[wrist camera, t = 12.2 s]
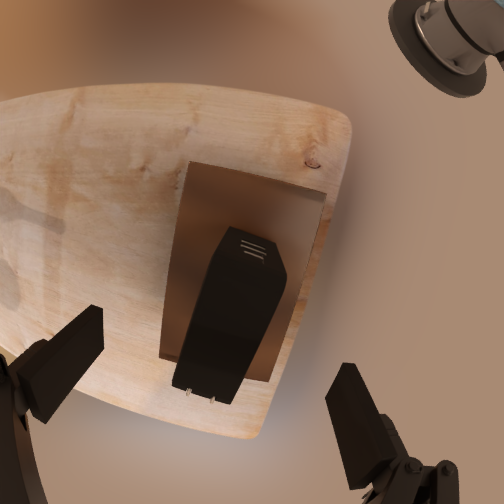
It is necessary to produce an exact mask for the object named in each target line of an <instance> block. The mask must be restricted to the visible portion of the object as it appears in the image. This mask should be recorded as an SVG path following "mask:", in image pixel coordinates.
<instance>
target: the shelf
mask: <svg viewBox="0 0 504 504" xmlns="http://www.w3.org/2000/svg"><path fill="white" fill-rule="evenodd" d="M326 195H327V194H326V193H323V192H320V191H316V190H313V189H309V188H305V187H302V186H298V185H294V184H290V183H287V182H283V181H279V180H275V179H271V178H267V177H263V176H258V175H254V174H250V173H245V172H241V171H237V170H232V169H227V168H223V167H218V166H213V165H208V164H203V163H197V162H192V161H189V165H188V169H187V173H186V178H185V182H184V187H183V192H182V197H181V202H180V207H179V212H178V217H177V223H176V228H175V234H174V239H173V245H172V252H171V258H170V264H169V271H168V278H167V285H166V293H165V301H164V309H163V318H162V328H161V338H160V350H159V358H161V359H165V360H168V361H172V362H175V363H177V362H178V359H179V355H180V352H181V349H182V345H183V342H184V339H185V336H186V332H187V329H188V326H189V323H190V320H191V316H192V313H193V310H194V307H195V304H196V301H197V298H198V295H199V292H200V289H201V286H202V283H203V280H204V277H205V274H206V271H207V268H208V265H209V262H210V259H211V257H212V255H213V253H214V251H215V250H216V248H217V246H218V244H219V243H220V241H221V239H222V238H223V236H224V234H225V232H226V231H227V229H228V228H229V226H231V227H234V228H236V229H239V230H242V231H245V232H247V233H250V234H253V235H256V236H258V237H261V238H264V239H266V240H269V241H272V242H274V243H276V245H277V248H278V251H279V253H280V256H281V259H282V262H283V264H284V267H285V270H286V272H287V282H286V286H285V290H284V293H283V295H282V297H281V300H280V302H279V304H278V306H277V309H276V311H275V313H274V315H273V318H272V320H271V322H270V324H269V326H268V328H267V331H266V333H265V335H264V337H263V339H262V341H261V343H260V346H259V348H258V350H257V352H256V354H255V356H254V358H253V360H252V362H251V364H250V366H249V368H248V371H247V373H246V375H245V377H244V378H246V379H252V380H258V381H264V382H269V380H270V377H271V374H272V371H273V369H274V366H275V363H276V360H277V357H278V355H279V352H280V349H281V346H282V343H283V340H284V337H285V334H286V331H287V328H288V325H289V322H290V319H291V316H292V313H293V310H294V307H295V304H296V301H297V298H298V295H299V291H300V288H301V285H302V282H303V278H304V275H305V272H306V268H307V265H308V262H309V258H310V255H311V251H312V248H313V244H314V241H315V237H316V233H317V230H318V226H319V222H320V219H321V215H322V211H323V207H324V203H325V199H326Z"/></svg>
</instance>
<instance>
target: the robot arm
mask: <svg viewBox="0 0 504 504" xmlns="http://www.w3.org/2000/svg"><path fill="white" fill-rule="evenodd" d="M412 23H413V28H414V31H415V33H416V35H417V37H418V39H419V41H420V42H421V44H422V46H423V47H424V48H425V50H426V51H427V52H428V53H429V55H430V56H431V57H432V58H433V59H434V60H435V61H436V62H437V63H438V64H439V65H441V66H442V67H443V68H445V69H446V70H448V71H449V72H451V73H453V74H455V75H458V76H467V75H470V74H473V73H475V72H476V71H477V70H478V68H479V67H480V66H481V65H482V63H483V62H484V61H485V59H486V58H487V57H488V56H489V55H493V56H495V57H496V58H497V60H498V61H499V63H500V65H501V67H502V69H503V71H504V0H444V1H439V2H434V3H430V2H427V3H426V5H423V6H421V7H419V8H418V9H417V10H416V11H415V12H414V14H413V17H412ZM103 350H104V335H103V308H100V307H98V306H95V305H92V304H91V305H90V306H89V307H88V308H86V309H85V310H84V311H83V312H82V313H80V314H79V315H78V316H77V317H76V318H75V319H73V320H72V321H71V322H70V323H69V324H68V325H66V326H65V327H64V328H63V329H62V330H61V331H60V332H58V333H57V334H56V335H55V336H54V337H53V338H52V339H50V340H49V341H47V340H45V339H42V340H39V341H37V342H35V343H33V344H32V345H31V346H30V347H29V349H27V350H25V351H24V353H22V354H21V355H20V356H19V357H18V358H16V359H15V360H14V362H12V363H11V364H10V365H9V366H7V362H6V360H5V357H4V356H3V355H2V354H0V504H48V502H47V500H46V496H45V493H44V490H43V487H42V484H41V480H40V477H39V473H38V469H37V465H36V461H35V457H34V452H33V448H32V443H31V437H30V432H29V425H28V419H27V415H26V412H27V411H28V409H29V408H30V411H31V413H32V415H33V417H35V418H36V419H38V420H40V421H41V422H43V423H44V424H46V423H47V422H48V421H49V419H50V418H51V417H52V415H53V414H54V412H55V411H56V410H57V408H58V407H59V406H60V404H61V403H62V401H63V400H64V399H65V398H66V396H67V395H68V394H69V393H70V391H71V390H72V389H73V387H74V386H75V385H76V383H77V382H78V381H79V380H80V378H81V377H82V376H83V375H84V373H85V372H86V371H87V370H88V368H89V367H90V366H91V365H92V363H93V362H94V361H95V360H96V358H97V357H98V356H99V355H100V353H101V352H102V351H103ZM325 400H326V403H327V407H328V411H329V414H330V417H331V421H332V425H333V428H334V432H335V435H336V439H337V443H338V447H339V450H340V454H341V458H342V462H343V465H344V469H345V473H346V477H347V481H348V484H349V489H350V490H355V489H363V488H366V486H368V485H369V484H370V483H371V482H372V485H373V488H372V489H371V490H370V491H369V492H367V494H365V495H364V496H363V497H362V499H364V498H365V497H366V496H367V497H366V498H365V500H364V502H363V503H362V504H459V480H458V469H457V467H456V465H455V464H454V463H453V462H451V461H448V460H443V461H441V462H439V463H438V464H437V465H436V466H435V467H434V466H423V464H422V463H421V462H420V461H419V460H418V459H416V458H413V457H409V455H408V453H407V451H406V449H405V447H404V444H403V443H402V440H401V438H400V436H398V432H397V430H395V426H394V424H393V422H392V420H391V419H390V418H389V417H388V416H387V415H386V414H379V412H378V410H377V408H376V406H375V404H374V401H373V399H372V397H371V395H370V393H369V391H368V389H367V387H366V385H365V383H364V381H363V379H362V377H361V375H360V373H359V371H358V369H357V367H356V365H355V364H354V363H342V365H341V367H340V370H339V372H338V374H337V376H336V378H335V380H334V382H333V384H332V385H331V387H330V389H329V391H328V393H327V395H326V397H325Z"/></svg>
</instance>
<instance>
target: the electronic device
mask: <svg viewBox="0 0 504 504" xmlns="http://www.w3.org/2000/svg"><path fill="white" fill-rule="evenodd" d="M286 282H287V272H286V270H285V267H284V264H283V262H282V259H281V256H280V253H279V251H278V248H277V245H276V243H274V242H272V241H269V240H266V239H264V238H261V237H258V236H256V235H253V234H250V233H247V232H245V231H242V230H239V229H236V228H234V227H231V226H229V228H228V229H227V231H226V232H225V234H224V236H223V238H222V239H221V241H220V243H219V244H218V246H217V248H216V250H215V251H214V253H213V255H212V257H211V259H210V262H209V265H208V268H207V271H206V274H205V277H204V280H203V283H202V286H201V289H200V292H199V295H198V298H197V301H196V304H195V307H194V310H193V313H192V316H191V320H190V323H189V326H188V329H187V332H186V336H185V339H184V342H183V345H182V349H181V352H180V355H179V359H178V362H177V365H176V369H175V372H174V375H173V379H172V386H173V387H175V388H178V389H181V390H184V391H186V390H187V388H188V390H187V393H186V395H187V396H189V394H190V391H191V389H192V391H191V393H193V394H196V395H199V396H202V397H205V398H208V399H210V403H212V404H213V402H214V399H215V401H218V402H222V403H225V404H229V405H230V404H231V402H232V401H233V399H234V397H235V395H236V393H237V391H238V389H239V387H240V385H241V383H242V381H243V379H244V377H245V375H246V373H247V371H248V368H249V366H250V364H251V362H252V360H253V358H254V356H255V354H256V352H257V350H258V348H259V346H260V343H261V341H262V339H263V337H264V335H265V333H266V331H267V328H268V326H269V324H270V322H271V320H272V318H273V315H274V313H275V311H276V309H277V306H278V304H279V302H280V300H281V297H282V295H283V293H284V290H285V286H286Z"/></svg>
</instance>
